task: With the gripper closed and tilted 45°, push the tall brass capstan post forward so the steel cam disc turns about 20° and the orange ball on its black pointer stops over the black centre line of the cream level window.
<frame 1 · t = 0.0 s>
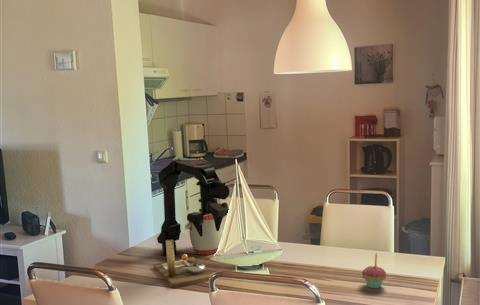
hand: (209, 233, 199), 15 cm above the table, tool pointing down, fingers open, 9 cm apart
capstan cam: (181, 251, 197), point 9 cm above the table, hinge at 0.0°
cupcake: (374, 286, 175), on the table
level stand: (196, 274, 195), on the table
citrus juicer: (205, 251, 223), on the table
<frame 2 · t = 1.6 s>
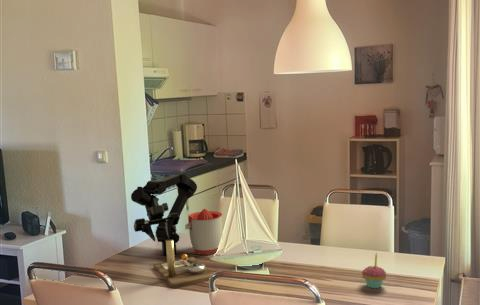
hand: (162, 239, 199), 14 cm above the table, tool tilted 45°, fingers open, 6 cm apart
nothing on the table moved.
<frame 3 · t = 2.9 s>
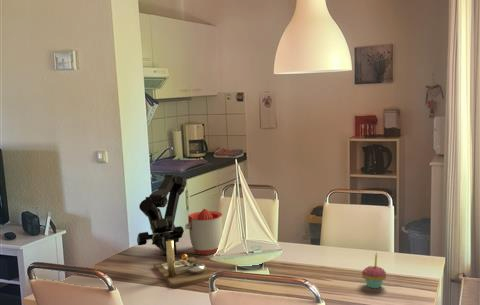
hand: (165, 253, 195), 9 cm above the table, tool tilted 45°, fingers closed
nothing on the table moved.
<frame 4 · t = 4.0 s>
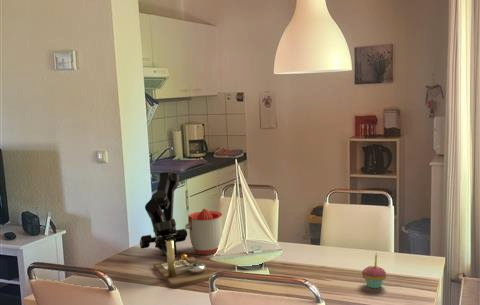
hand: (169, 257, 191), 9 cm above the table, tool tilted 45°, fingers closed, pressing on capstan cam
capstan cam: (180, 251, 197), point 9 cm above the table, hinge at 1.0°, touching gripper
everything else where it was.
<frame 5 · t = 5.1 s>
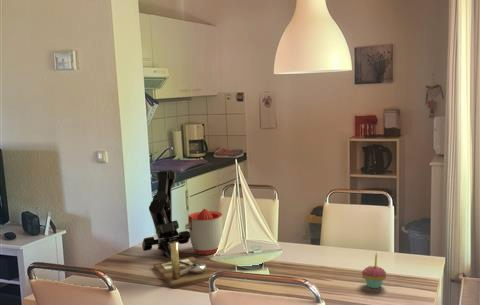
hand: (172, 259, 188), 9 cm above the table, tool tilted 45°, fingers closed
capstan cam: (178, 253, 195), point 9 cm above the table, hinge at 20.3°, touching gripper
everything else where it was.
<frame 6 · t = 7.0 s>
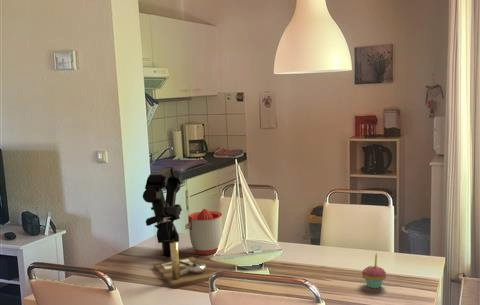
hand: (168, 239, 202), 13 cm above the table, tool tilted 20°, fingers closed
capstan cam: (178, 253, 195), point 9 cm above the table, hinge at 20.4°
everything else where it was.
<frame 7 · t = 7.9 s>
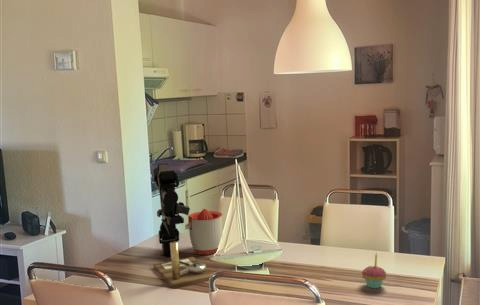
hand: (171, 236, 205), 13 cm above the table, tool pointing down, fingers closed
nothing on the table moved.
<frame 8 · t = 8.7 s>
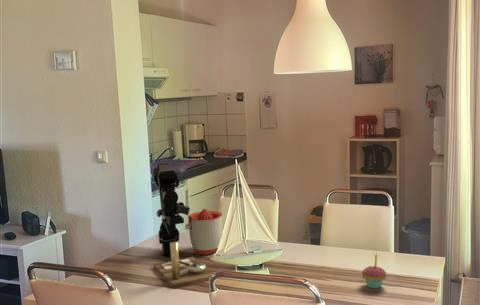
hand: (171, 236, 205), 13 cm above the table, tool pointing down, fingers closed
nothing on the table moved.
at the end: capstan cam at +20° (first picture: +0°) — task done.
